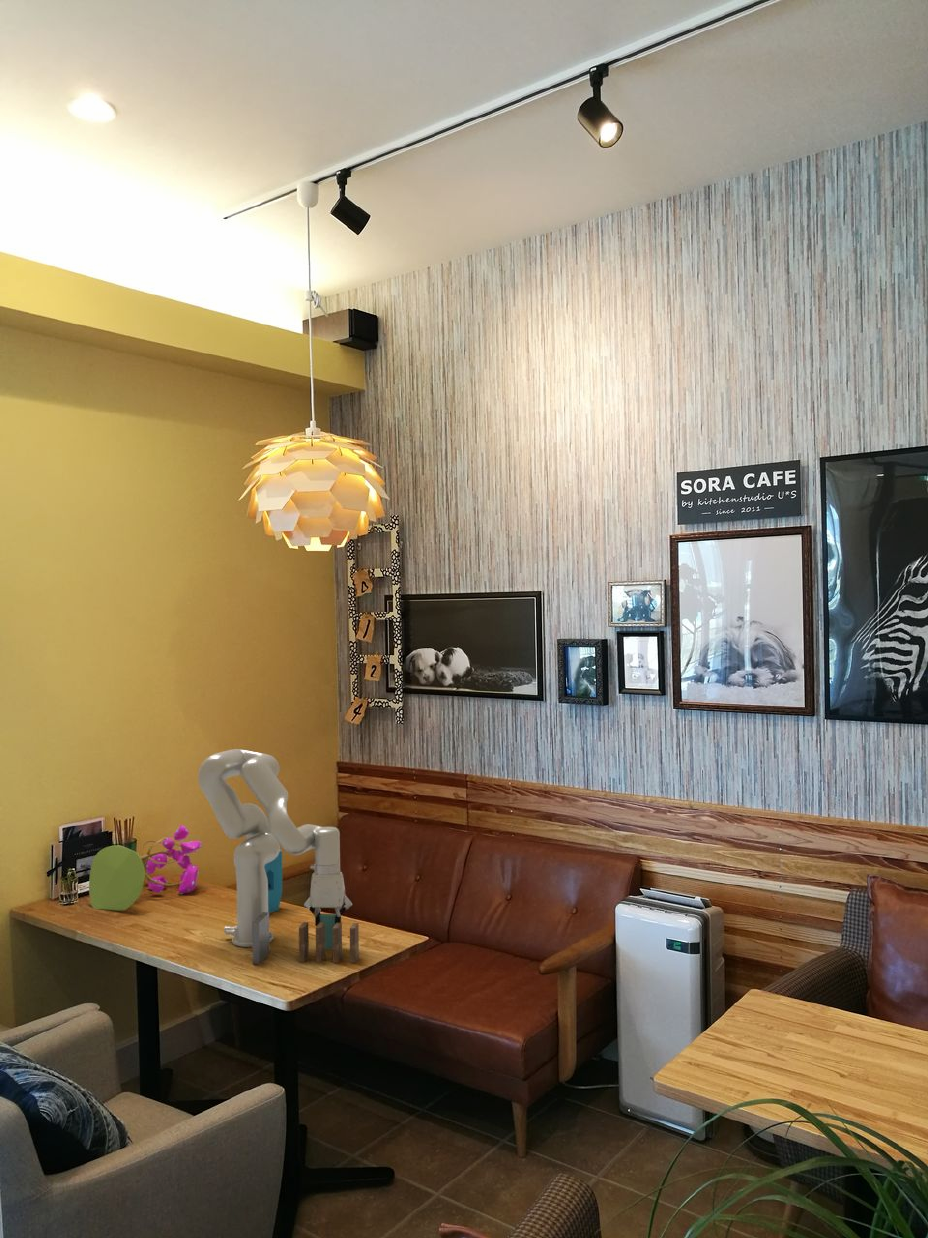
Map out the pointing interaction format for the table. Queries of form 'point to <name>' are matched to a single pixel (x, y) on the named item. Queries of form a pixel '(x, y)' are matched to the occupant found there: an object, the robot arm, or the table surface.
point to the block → (274, 882)
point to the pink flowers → (138, 872)
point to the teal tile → (328, 928)
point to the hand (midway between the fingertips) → (328, 928)
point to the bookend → (260, 937)
